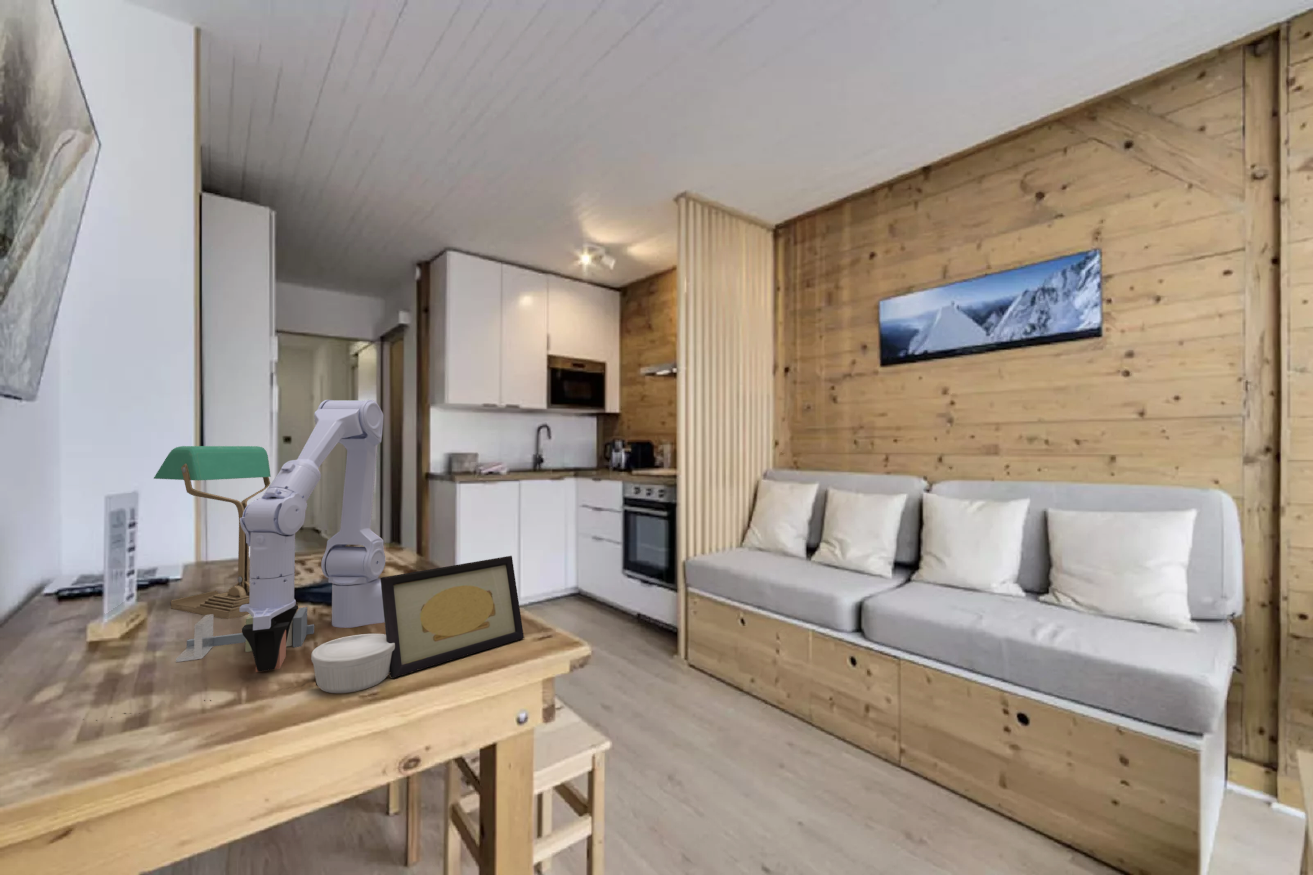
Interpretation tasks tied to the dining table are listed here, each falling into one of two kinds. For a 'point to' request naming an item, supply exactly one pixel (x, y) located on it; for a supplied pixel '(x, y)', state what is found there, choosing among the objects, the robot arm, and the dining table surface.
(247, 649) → the olive block
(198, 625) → the bookend
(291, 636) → the cream book
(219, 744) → the dining table surface
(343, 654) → the ramekin
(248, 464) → the banker's lamp
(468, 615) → the picture frame
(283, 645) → the rust book
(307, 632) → the shelf
